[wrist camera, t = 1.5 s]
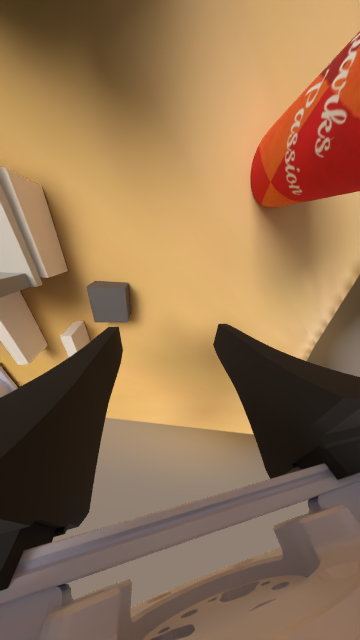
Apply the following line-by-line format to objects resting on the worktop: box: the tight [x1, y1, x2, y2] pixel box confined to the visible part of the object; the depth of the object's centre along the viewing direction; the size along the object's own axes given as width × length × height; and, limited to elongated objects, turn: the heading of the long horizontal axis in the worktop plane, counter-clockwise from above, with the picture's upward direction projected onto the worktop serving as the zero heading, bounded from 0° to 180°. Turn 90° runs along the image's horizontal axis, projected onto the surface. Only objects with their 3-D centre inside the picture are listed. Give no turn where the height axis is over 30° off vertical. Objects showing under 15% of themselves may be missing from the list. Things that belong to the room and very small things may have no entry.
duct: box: [0, 167, 90, 365], centre depth 13 cm, size 16×6×3 cm, turn 175°
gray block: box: [87, 281, 131, 322], centre depth 15 cm, size 4×4×2 cm
